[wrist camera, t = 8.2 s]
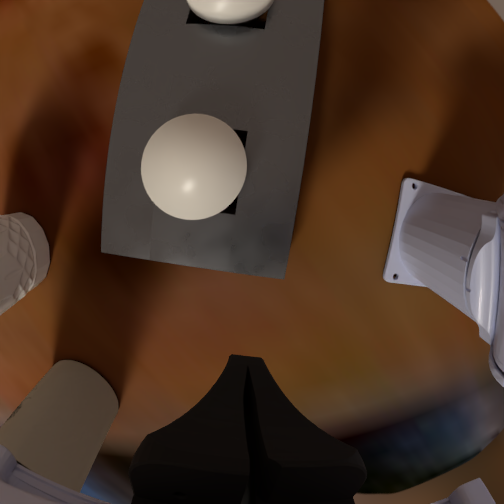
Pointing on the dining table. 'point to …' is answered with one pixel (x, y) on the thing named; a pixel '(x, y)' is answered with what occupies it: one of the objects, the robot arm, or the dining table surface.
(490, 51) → the dining table surface
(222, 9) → the knob
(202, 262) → the knob mount
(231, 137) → the knob
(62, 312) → the dining table surface
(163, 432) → the robot arm
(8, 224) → the white cup
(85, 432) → the travel mug
